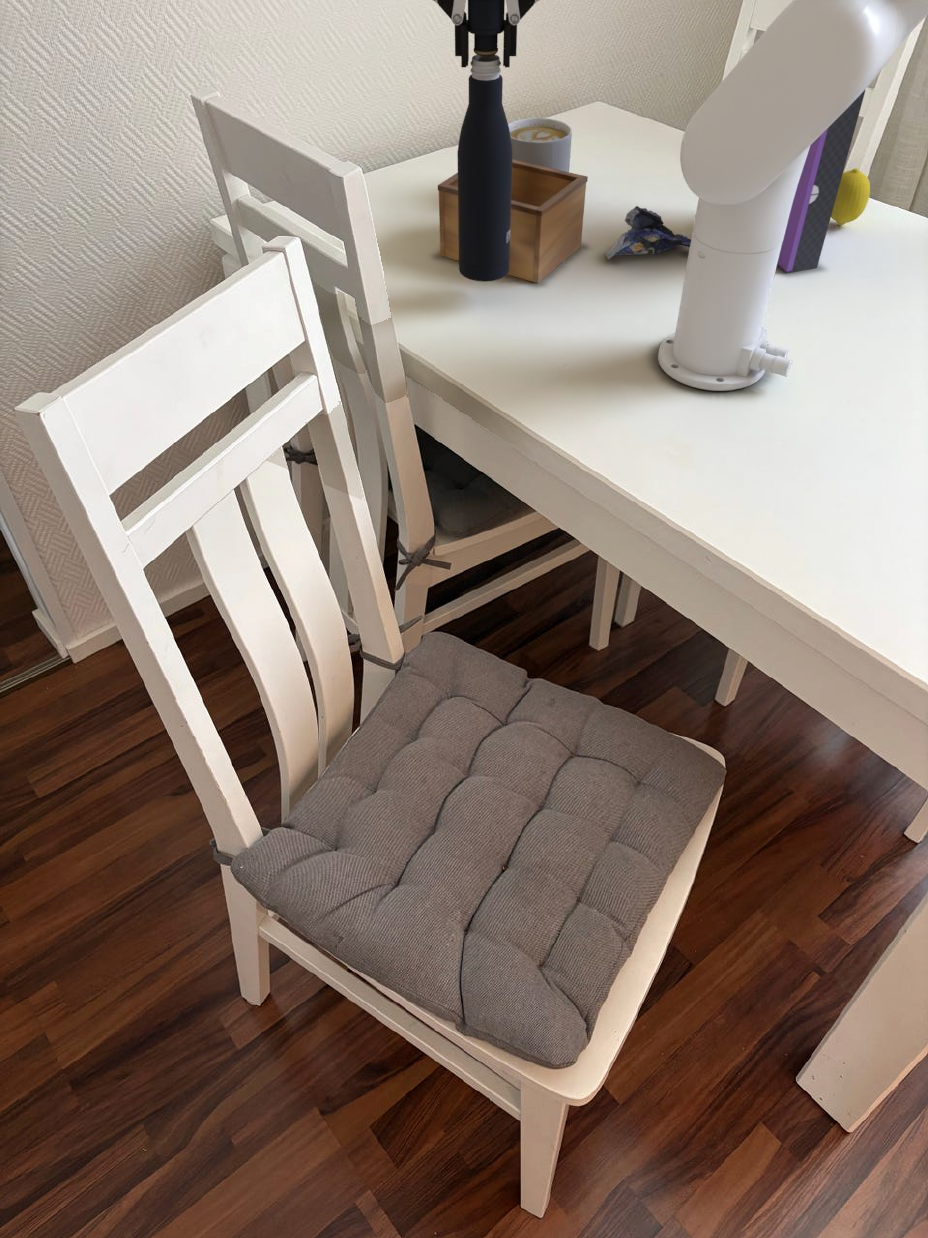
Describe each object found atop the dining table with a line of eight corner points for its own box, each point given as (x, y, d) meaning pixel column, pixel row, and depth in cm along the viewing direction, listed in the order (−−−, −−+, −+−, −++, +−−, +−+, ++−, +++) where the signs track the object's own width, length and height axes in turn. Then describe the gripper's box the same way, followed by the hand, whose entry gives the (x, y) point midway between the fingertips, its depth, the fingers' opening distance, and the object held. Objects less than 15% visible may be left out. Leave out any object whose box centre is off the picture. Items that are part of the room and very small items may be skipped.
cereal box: (722, 220, 139) (758, 35, 122) (751, 215, 140) (790, 31, 123) (786, 273, 128) (835, 77, 110) (816, 267, 129) (870, 72, 111)
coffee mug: (559, 183, 149) (563, 115, 142) (573, 210, 142) (578, 139, 135) (475, 189, 148) (475, 121, 140) (486, 216, 141) (486, 146, 133)
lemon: (867, 229, 137) (885, 172, 131) (836, 236, 135) (852, 178, 130) (844, 214, 140) (860, 158, 134) (812, 220, 139) (827, 164, 133)
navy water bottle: (452, 262, 122) (447, -11, 100) (499, 255, 123) (505, -16, 101) (467, 285, 117) (466, 5, 96) (516, 277, 119) (525, -1, 97)
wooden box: (581, 246, 134) (587, 176, 127) (538, 283, 126) (542, 211, 119) (486, 221, 140) (487, 153, 132) (439, 255, 132) (437, 184, 125)
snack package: (595, 233, 137) (605, 269, 128) (607, 188, 132) (618, 222, 124) (674, 246, 138) (689, 282, 130) (689, 202, 134) (705, 236, 126)
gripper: (396, -145, 88) (407, 74, 101) (577, -146, 87) (563, 74, 100) (402, -157, 93) (412, 52, 106) (573, -158, 92) (561, 52, 105)
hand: (485, 61), depth 103 cm, fingers closed on navy water bottle, 3 cm apart
